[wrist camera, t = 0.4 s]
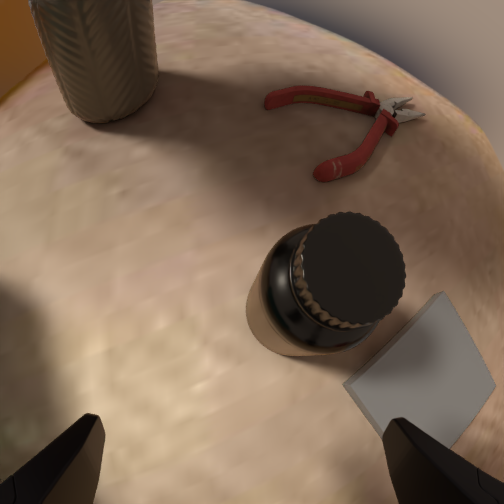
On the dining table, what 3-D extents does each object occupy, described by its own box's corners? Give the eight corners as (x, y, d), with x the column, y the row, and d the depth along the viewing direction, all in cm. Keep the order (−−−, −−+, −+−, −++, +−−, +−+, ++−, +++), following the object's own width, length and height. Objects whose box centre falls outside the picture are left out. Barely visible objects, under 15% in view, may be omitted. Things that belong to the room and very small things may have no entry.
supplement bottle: (254, 258, 24) (291, 168, 13) (338, 278, 25) (426, 212, 13) (234, 346, 22) (257, 331, 11) (324, 364, 22) (420, 360, 11)
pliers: (440, 146, 33) (451, 134, 30) (317, 191, 28) (326, 175, 25) (387, 82, 36) (395, 69, 33) (258, 105, 31) (262, 87, 28)
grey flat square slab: (485, 386, 23) (496, 385, 21) (409, 477, 19) (419, 481, 18) (433, 294, 25) (443, 290, 24) (342, 384, 22) (350, 385, 20)
